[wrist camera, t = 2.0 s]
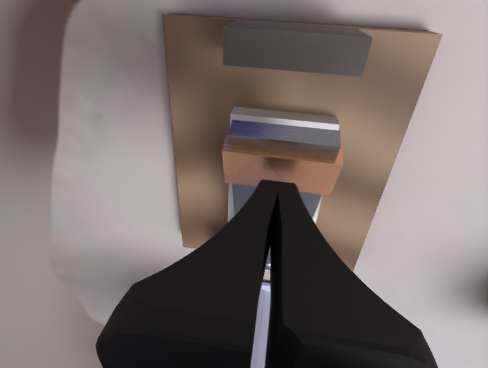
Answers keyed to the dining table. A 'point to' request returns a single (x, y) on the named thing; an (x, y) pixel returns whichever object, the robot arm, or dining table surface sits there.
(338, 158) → the tan and grey block
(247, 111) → the clamp board
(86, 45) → the dining table surface
